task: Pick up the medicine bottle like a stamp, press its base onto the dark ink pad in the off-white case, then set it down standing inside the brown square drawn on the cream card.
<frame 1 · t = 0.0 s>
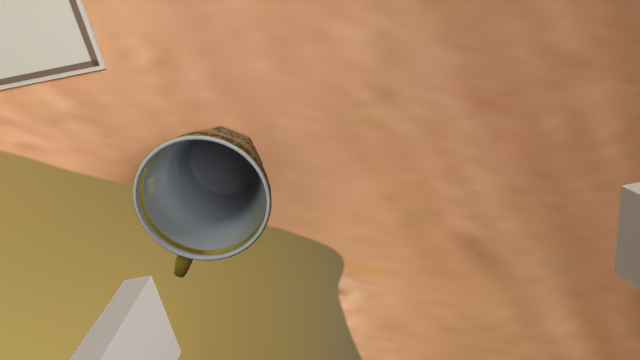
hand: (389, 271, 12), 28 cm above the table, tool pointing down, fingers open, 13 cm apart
ceramic cup: (221, 173, 40), on the table
print card: (27, 19, 34), on the table
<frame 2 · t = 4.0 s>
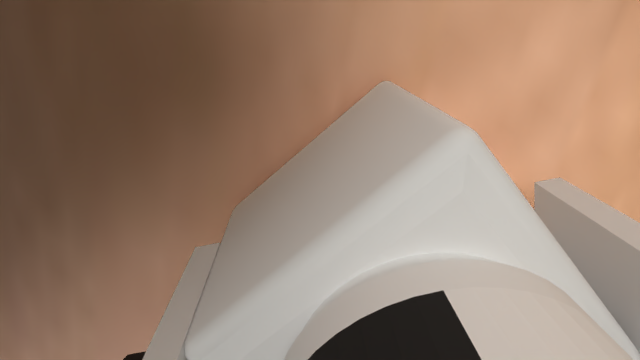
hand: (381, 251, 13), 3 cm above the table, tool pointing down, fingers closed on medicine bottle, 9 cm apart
medicine bottle: (367, 212, 15), on the table, touching gripper
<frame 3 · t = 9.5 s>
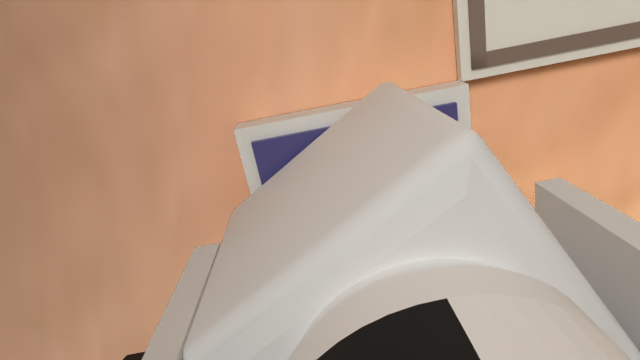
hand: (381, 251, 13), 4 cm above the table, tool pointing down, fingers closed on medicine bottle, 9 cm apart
ink pad: (363, 202, 16), on the table
medicine bottle: (367, 214, 15), point 1 cm above the table, touching gripper, ink pad
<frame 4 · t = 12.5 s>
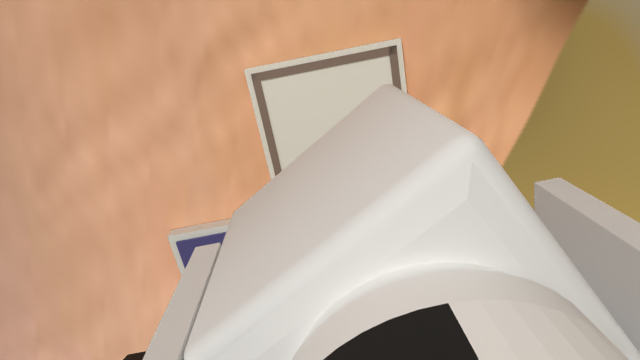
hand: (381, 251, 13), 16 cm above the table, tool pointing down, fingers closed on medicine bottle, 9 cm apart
ink pad: (239, 266, 31), on the table
print card: (335, 129, 28), on the table
medicine bottle: (368, 216, 15), point 14 cm above the table, touching gripper
when the fingers open (5 cm above the table, at t = 15.0 s): medicine bottle drops 2 cm, resting on print card.
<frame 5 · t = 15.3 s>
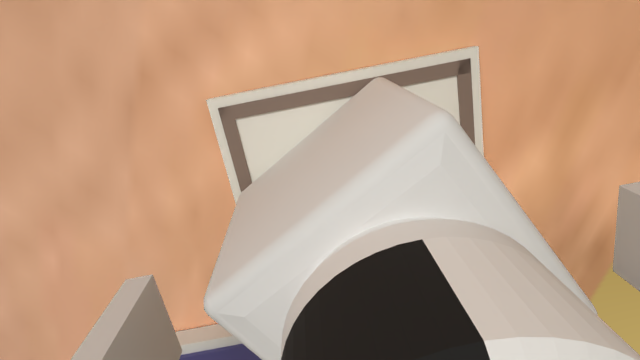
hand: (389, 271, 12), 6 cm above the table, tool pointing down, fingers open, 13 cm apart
print card: (360, 194, 17), on the table
medicine bottle: (362, 198, 17), resting on print card
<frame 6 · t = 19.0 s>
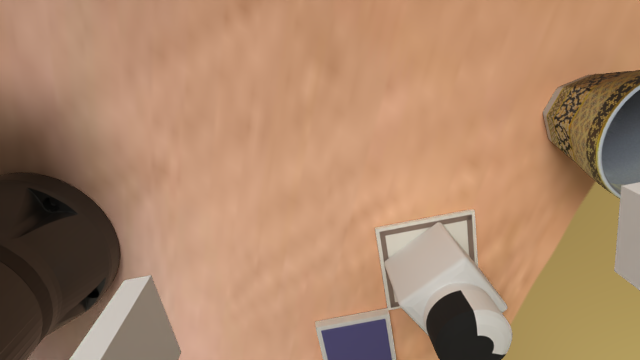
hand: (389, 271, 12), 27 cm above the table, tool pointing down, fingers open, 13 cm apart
ceramic cup: (589, 118, 38), on the table
ink pad: (356, 343, 46), on the table
print card: (428, 260, 43), on the table
medicine bottle: (429, 262, 42), resting on print card
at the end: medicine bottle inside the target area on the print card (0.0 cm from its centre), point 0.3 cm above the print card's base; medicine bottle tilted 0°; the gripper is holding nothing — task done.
